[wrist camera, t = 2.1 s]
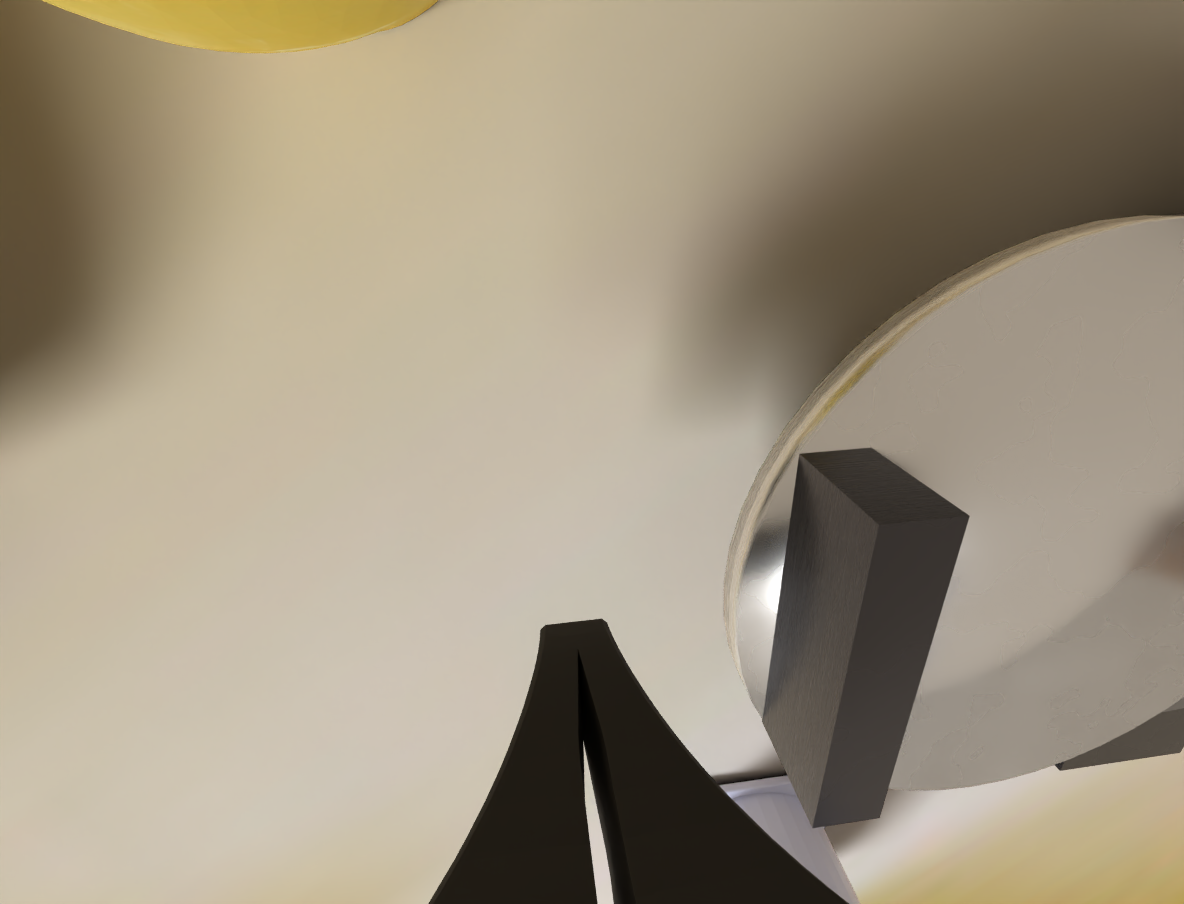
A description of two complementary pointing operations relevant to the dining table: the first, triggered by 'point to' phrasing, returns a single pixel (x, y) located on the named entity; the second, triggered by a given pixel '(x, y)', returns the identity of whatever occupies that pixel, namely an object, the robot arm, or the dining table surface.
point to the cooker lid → (976, 528)
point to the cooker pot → (1138, 737)
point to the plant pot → (250, 21)
